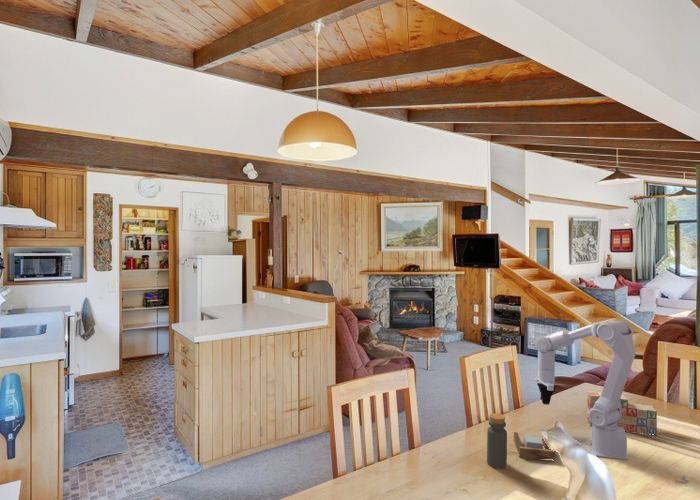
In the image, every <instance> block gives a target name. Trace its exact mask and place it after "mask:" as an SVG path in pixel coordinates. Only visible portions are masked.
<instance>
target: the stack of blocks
mask: <svg viewBox="0 0 700 500" xmlns="http://www.w3.org/2000/svg"><path fill="white" fill-rule="evenodd" d="M601 394H602V391H596V390H595V391H594V390H587V403H586V404H587V414H588V413H589V410H590V409H591V408H593V407H594V405H595V402H596V401H597V400H598V399H599V398H600V396H601ZM619 402H620V403H621V405H622V407H621V414H622V417H621V419H620V421H618V422H617V425H618V427H622V428H624V430H625V431H626V433H630V432H636V433H635V434H637V433H641V434H640V435H644V434H651V435H652V434H654V435H657V431H658V430H657V428H658V420H657V419H658V414H657V410H656V408H654V406H652V405H648V404H640V403H634V402H633V403H632V402H629V399H628V398H627V397H626V396H625V395H624V394H623V393H622V395H621V398H620V401H619ZM587 423H588V425H589V427H591V428H592V422H591V421H590V419H589V416H588V415H587ZM627 431H628V432H627ZM642 433H643V434H642ZM651 435H650V436H651Z"/></svg>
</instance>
